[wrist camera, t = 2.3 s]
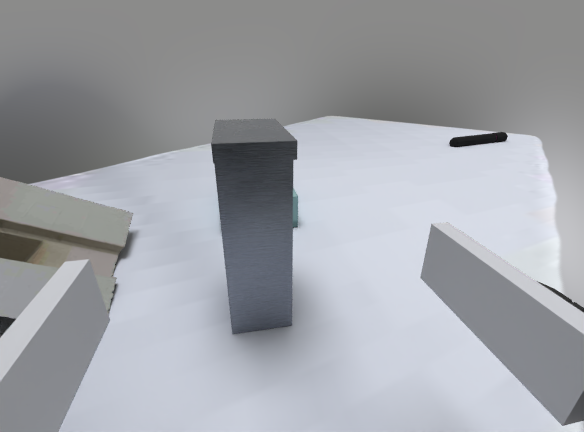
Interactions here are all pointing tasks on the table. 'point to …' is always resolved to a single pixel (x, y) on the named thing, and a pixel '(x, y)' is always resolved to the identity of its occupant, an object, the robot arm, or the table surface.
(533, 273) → the table surface
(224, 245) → the brushed metal pillar
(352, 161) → the table surface
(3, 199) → the wall
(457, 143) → the gadget
